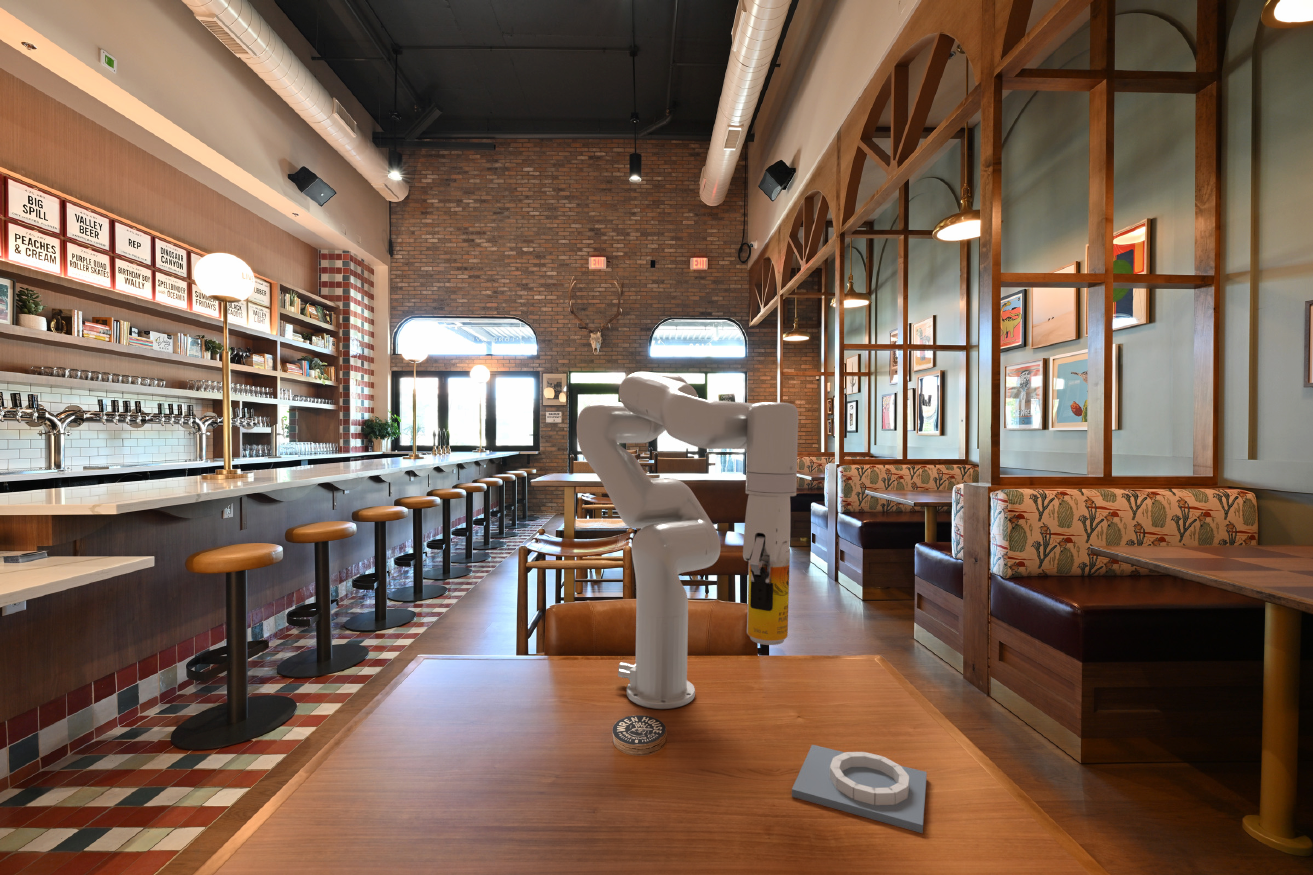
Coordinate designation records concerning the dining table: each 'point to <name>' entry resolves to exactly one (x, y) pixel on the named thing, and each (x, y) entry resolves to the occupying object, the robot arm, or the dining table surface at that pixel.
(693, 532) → the robot arm
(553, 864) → the dining table surface
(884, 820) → the base board
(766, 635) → the beer can
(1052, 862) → the dining table surface
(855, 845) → the dining table surface
